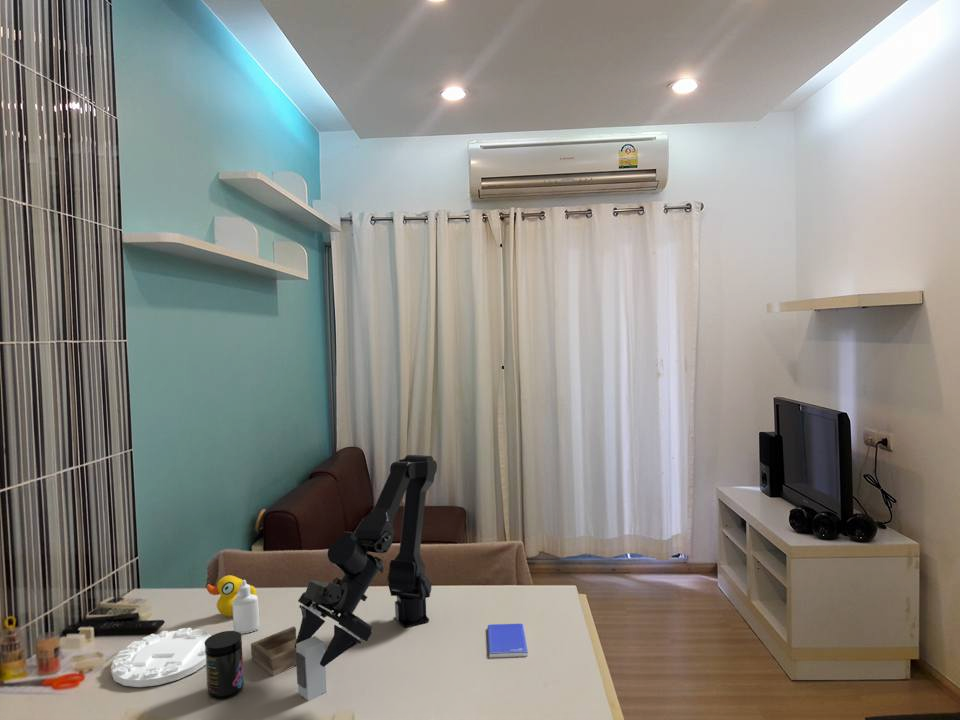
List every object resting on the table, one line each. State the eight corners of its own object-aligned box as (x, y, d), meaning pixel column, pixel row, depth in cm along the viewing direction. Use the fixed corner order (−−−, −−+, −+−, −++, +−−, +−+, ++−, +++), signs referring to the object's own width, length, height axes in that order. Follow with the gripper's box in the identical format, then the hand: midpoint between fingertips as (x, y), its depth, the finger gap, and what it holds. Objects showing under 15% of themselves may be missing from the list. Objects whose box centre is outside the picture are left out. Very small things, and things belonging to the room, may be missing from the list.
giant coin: (162, 699, 122) (161, 684, 121) (89, 680, 128) (88, 667, 128) (235, 647, 140) (234, 634, 140) (168, 633, 147) (167, 621, 147)
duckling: (208, 625, 150) (206, 584, 150) (208, 615, 155) (206, 576, 155) (258, 614, 155) (256, 575, 154) (256, 605, 160) (254, 567, 159)
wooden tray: (294, 641, 141) (293, 626, 141) (316, 656, 134) (315, 640, 134) (251, 659, 134) (250, 643, 134) (273, 676, 127) (272, 659, 127)
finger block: (317, 685, 124) (314, 636, 123) (326, 692, 121) (324, 642, 121) (296, 695, 121) (294, 644, 120) (306, 702, 118) (303, 651, 118)
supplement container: (231, 702, 119) (228, 649, 118) (199, 699, 120) (196, 647, 119) (251, 682, 125) (248, 631, 125) (220, 679, 127) (217, 629, 126)
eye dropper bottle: (252, 635, 144) (249, 585, 144) (230, 634, 145) (227, 583, 145) (262, 626, 149) (260, 577, 148) (241, 625, 150) (238, 576, 149)
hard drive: (527, 651, 132) (522, 623, 144) (489, 652, 132) (487, 624, 144) (528, 658, 132) (523, 629, 144) (489, 659, 132) (487, 630, 144)
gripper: (304, 552, 130) (256, 623, 122) (356, 575, 117) (306, 657, 109) (338, 577, 136) (294, 647, 128) (391, 602, 123) (346, 681, 115)
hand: (308, 656), depth 120 cm, fingers open, 9 cm apart
